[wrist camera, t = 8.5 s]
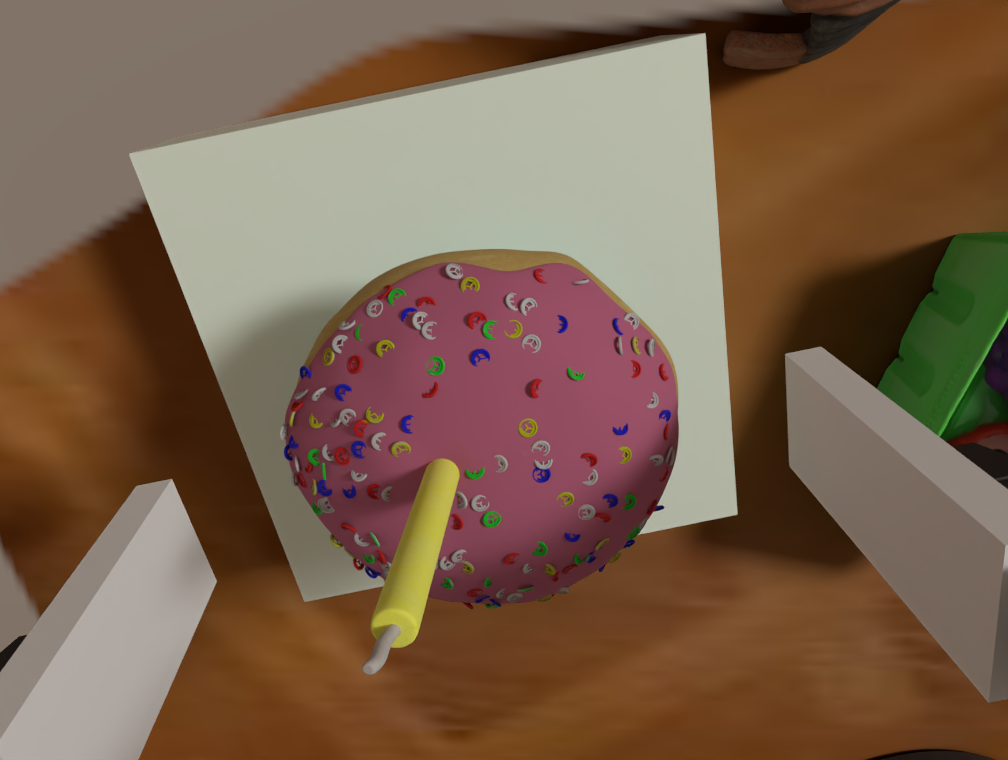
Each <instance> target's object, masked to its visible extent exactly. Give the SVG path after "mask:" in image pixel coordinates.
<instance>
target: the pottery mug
mask: <svg viewBox="0 0 1008 760" xmlns="http://www.w3.org/2000/svg"><path fill="white" fill-rule="evenodd" d="M782 1H783V4H784V5H785V6H786V7H787V8H788V9H789V10H790V11H792V12H796V13H812V15H811V22H810V23H811V27H810V28H809V29H808V30H806V31H805V32H804V33H784V34H778V33H761V32H751V31H743V30H733V31H731V32H730V33H729V34H728V35H727V37H726V40H725V44H724V48H723V50H724V54H723V57H722V60H723V62H724V63H725V64H727V65H729V66H731V67H739V68H744V69H755V70H760V69H777V68H783V67H789V66H793V65H797V64H804V63H807V62H810V61H813V60H815V59H818V58H820V57H822V56H824V55H826V54H828V53H830V52H832V51H834V50H836V49H838V48H839V47H841V46H842V45H844V44H845V43H847V42H848V41H849V40H851V39H852V38H853V37H855V36H856V35H857V34H858V33H859V32H861V31H862V30H863V29H864V28H865V27H866V26H868V25H869V24H870V23H872V22H873V21H874V20H875V19H876V18H877V17H879V16H880V15H881V14H882V13H884V12H885V11H886V10H887V9H888V8H890V7H891V6H893V5H894V4H896V3H897V2H899V1H900V0H782Z"/></svg>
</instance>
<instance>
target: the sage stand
mask: <svg viewBox="0 0 1008 760" xmlns="http://www.w3.org/2000/svg"><path fill="white" fill-rule="evenodd" d="M129 156H130V158H131V161H132V164H133V166H134V169H135V171H136V174H137V176H138V179H139V181H140V184H141V187H142V189H143V192H144V194H145V197H146V199H147V202H148V204H149V207H150V210H151V212H152V215H153V217H154V220H155V222H156V225H157V227H158V230H159V232H160V235H161V238H162V240H163V243H164V245H165V248H166V250H167V253H168V255H169V258H170V260H171V263H172V266H173V268H174V271H175V273H176V276H177V278H178V281H179V283H180V286H181V289H182V291H183V294H184V296H185V299H186V301H187V304H188V306H189V309H190V311H191V314H192V317H193V319H194V322H195V324H196V327H197V329H198V332H199V334H200V337H201V339H202V342H203V345H204V347H205V350H206V352H207V355H208V357H209V360H210V362H211V365H212V368H213V370H214V373H215V375H216V378H217V380H218V383H219V385H220V388H221V390H222V393H223V396H224V398H225V401H226V403H227V406H228V408H229V411H230V413H231V416H232V419H233V421H234V424H235V426H236V429H237V431H238V434H239V436H240V439H241V441H242V444H243V447H244V449H245V452H246V454H247V457H248V459H249V462H250V464H251V467H252V469H253V472H254V475H255V477H256V480H257V482H258V485H259V487H260V490H261V492H262V495H263V498H264V500H265V503H266V505H267V508H268V510H269V513H270V515H271V518H272V520H273V523H274V526H275V528H276V531H277V533H278V536H279V538H280V541H281V543H282V546H283V548H284V551H285V554H286V556H287V559H288V561H289V564H290V566H291V569H292V571H293V574H294V577H295V579H296V582H297V584H298V587H299V589H300V592H301V594H302V597H303V599H304V602H307V601H312V600H317V599H322V598H327V597H332V596H337V595H342V594H347V593H352V592H357V591H362V590H366V589H371V588H376V587H381V586H384V584H385V582H384V580H383V578H381V577H380V576H378V577H377V578H375V579H374V578H371V577H369V576H368V575H367V573H366V572H365V565H364V568H363V569H362V570H357V569H356V568H355V567H354V564H353V557H351V556H350V555H349V554H347V553H346V551H345V550H344V546H343V547H341V548H337V547H335V546H334V545H333V544H332V543H331V541H330V535H331V532H330V531H329V530H328V529H327V528H326V527H325V525H324V524H323V523H322V522H321V521H320V519H319V518H318V517H317V515H316V514H315V513H314V511H313V509H312V508H311V506H310V505H309V503H308V502H307V500H306V499H305V497H304V496H303V494H302V493H301V491H300V489H299V488H298V486H294V485H293V484H292V482H291V475H292V471H291V467H290V463H289V460H287V459H286V458H285V456H284V448H285V446H286V440H281V439H280V437H279V432H280V429H281V427H282V425H283V424H284V423H285V415H286V411H287V408H288V405H289V402H290V400H291V398H292V395H293V393H294V391H295V389H296V386H297V382H298V378H299V375H300V368H301V367H302V366H303V365H304V363H305V361H306V359H307V357H308V355H309V353H310V351H311V349H312V347H313V345H314V343H315V341H316V339H317V337H318V336H319V334H320V332H321V331H322V329H323V328H324V326H325V325H326V324H327V322H328V321H329V320H330V319H331V318H332V317H333V316H334V315H335V314H336V313H337V312H338V311H339V310H340V309H341V308H342V307H343V306H344V305H345V304H346V303H347V302H348V301H349V300H350V299H351V298H352V297H353V296H354V295H355V294H356V293H357V292H358V291H359V290H360V289H362V288H363V287H364V286H365V285H366V284H368V283H369V282H370V281H372V280H373V279H374V278H376V277H378V276H379V275H381V274H383V273H385V272H387V271H389V270H390V269H393V268H395V267H397V266H399V265H402V264H404V263H407V262H410V261H413V260H416V259H419V258H423V257H426V256H430V255H435V254H439V253H445V252H453V251H464V250H480V249H512V250H526V251H549V252H557V253H562V254H565V255H567V256H570V257H572V258H573V259H575V260H576V261H578V262H579V263H581V264H582V265H583V266H584V267H586V268H587V269H588V270H589V271H590V272H591V273H593V274H594V275H595V276H596V277H597V278H598V279H599V280H601V281H602V282H603V283H604V284H605V285H606V286H607V287H609V288H610V289H611V290H612V291H613V292H614V293H615V294H616V295H617V296H618V297H619V298H620V299H621V300H622V301H624V302H625V303H626V304H627V305H628V306H629V307H630V308H631V309H632V310H633V311H634V312H635V313H636V314H637V315H638V316H639V317H640V318H641V319H642V320H643V321H644V322H645V323H646V324H647V325H648V326H649V327H650V328H651V329H652V330H653V331H654V332H655V334H656V335H657V336H658V337H659V338H660V340H661V341H662V342H663V344H664V345H665V347H666V348H667V350H668V352H669V354H670V356H671V358H672V361H673V363H674V366H675V370H676V374H677V381H678V423H679V439H678V449H677V455H676V460H675V464H674V467H673V470H672V473H671V476H670V478H669V481H668V483H667V486H666V488H665V490H664V492H663V495H662V497H661V499H660V501H659V503H658V505H663V506H664V509H662V510H660V511H655V512H653V513H652V515H651V516H650V518H649V519H648V520H647V522H646V524H645V526H644V527H643V529H642V530H641V531H640V533H639V534H644V533H649V532H654V531H659V530H664V529H669V528H674V527H679V526H684V525H689V524H694V523H698V522H703V521H708V520H713V519H718V518H723V517H728V516H733V515H738V513H737V498H736V483H735V468H734V453H733V438H732V423H731V408H730V393H729V378H728V363H727V348H726V333H725V318H724V303H723V288H722V273H721V258H720V243H719V228H718V213H717V198H716V183H715V168H714V153H713V138H712V123H711V108H710V93H709V78H708V63H707V48H706V33H698V34H679V35H660V36H655V37H651V38H646V39H641V40H636V41H631V42H627V43H622V44H617V45H612V46H608V47H603V48H598V49H593V50H588V51H584V52H579V53H574V54H569V55H565V56H560V57H555V58H550V59H545V60H541V61H536V62H531V63H526V64H522V65H517V66H512V67H507V68H502V69H498V70H493V71H488V72H483V73H479V74H474V75H469V76H464V77H459V78H455V79H450V80H445V81H440V82H435V83H431V84H426V85H421V86H416V87H412V88H407V89H402V90H397V91H392V92H388V93H383V94H378V95H373V96H369V97H364V98H359V99H354V100H349V101H345V102H340V103H335V104H330V105H326V106H321V107H316V108H311V109H306V110H302V111H297V112H292V113H287V114H283V115H278V116H273V117H268V118H263V119H259V120H254V121H249V122H244V123H240V124H235V125H230V126H225V127H220V128H216V129H211V130H206V131H202V132H197V133H192V134H187V135H183V136H179V137H176V138H174V139H171V140H168V141H165V142H162V143H159V144H156V145H153V146H150V147H147V148H144V149H141V150H138V151H135V152H132V153H130V154H129ZM284 429H285V428H284ZM283 433H284V431H283ZM283 433H282V434H283ZM284 435H285V434H284ZM658 505H657V506H658ZM639 534H638V535H639ZM334 538H335V537H334ZM334 542H336V543H337V541H336V540H335V539H334ZM338 543H340V542H339V541H338ZM357 561H358V559H357ZM356 563H357V565H358V566H360V565H359V563H358V562H356ZM360 563H361V562H360ZM369 572H370V571H369ZM370 573H371V572H370ZM371 574H372V573H371Z"/></svg>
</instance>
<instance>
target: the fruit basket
mask: <svg viewBox="0 0 1008 760" xmlns="http://www.w3.org/2000/svg"><path fill="white" fill-rule="evenodd" d="M932 287H933V292H930V293H928V294H927V296H926V297H925V298H924V299H923V300H922V302H921V303H920V304H919V306H918V308H917V310H916V312H915V314H914V316H913V318H912V320H911V322H910V324H909V326H908V328H907V330H906V332H905V334H904V336H903V338H902V340H901V344H900V349H899V355H900V356H899V358H896V359H895V360H894V361H893V362H892V363H891V364H890V365H889V366H888V368H887V369H886V371H885V373H884V375H883V377H882V379H881V381H880V383H879V385H878V387H877V390H879V391H880V392H881V393H883V394H884V395H885V396H886V397H888V398H889V399H890V400H892V401H893V402H894V403H896V404H897V405H898V406H900V407H901V408H902V409H903V410H905V411H906V412H907V413H909V414H910V415H911V416H913V417H914V418H915V419H917V420H918V421H919V422H920V423H922V424H923V425H924V426H926V427H927V428H928V429H930V430H931V431H932V432H934V433H935V434H936V435H937V436H939V437H940V438H941V439H943V440H944V441H945V442H947V443H948V444H949V445H951V446H956V445H961V444H966V443H971V442H974V443H977V444H980V445H982V446H985V447H988V448H990V449H993V450H996V451H998V452H1001V453H1004V454H1006V455H1008V232H987V233H961V234H958V235H956V236H955V237H954V238H953V239H952V241H951V242H950V244H949V246H948V248H947V250H946V252H945V255H944V257H943V259H942V261H941V263H940V265H939V267H938V268H937V270H936V272H935V276H934V281H933V285H932Z"/></svg>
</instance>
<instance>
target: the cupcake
mask: <svg viewBox="0 0 1008 760" xmlns="http://www.w3.org/2000/svg"><path fill="white" fill-rule="evenodd" d="M284 428H285V429H284ZM283 431H284V433H283ZM282 433H283V434H282ZM284 434H285V435H284ZM279 437H280V439H281V440H286V446H285V448H284V456H285V458H286V459H287V460H289V463H290V467H291V471H292V475H291V482H292V484H293V485H294V486H298V488H299V489H300V491H301V493H302V494H303V496H304V497H305V499H306V500H307V502H308V503H309V505H310V506H311V508H312V509H313V511H314V513H315V514H316V515H317V517H318V518H319V519H320V521H321V522H322V523H323V524H324V525H325V527H326V528H327V529H328V530H329V531H330V532H331V535H330V541H331V543H332V544H333V545H334V546H335V547H337V548H341V547H343V546H344V550H345V551H346V553H347V554H349V555H350V556H351V557H353V564H354V567H355V568H356V569H357V570H362V569H363V568H364V565H365V572H366V573H367V575H368V576H369V577H371V578H374V579H375V578H377V577H378V576H380V577H381V578H383V580H384V582H385V584H384V586H383V589H382V592H381V595H380V597H379V600H378V603H377V606H376V608H375V611H374V614H373V617H372V620H371V631H372V633H373V635H374V637H375V638H376V639H377V641H376V643H375V646H374V649H373V652H372V655H371V657H370V658H369V659H368V660H367V661H366V662H365V663H364V664H363V667H362V669H363V671H364V673H366V674H368V675H371V674H374V673H376V672H377V671H378V670H380V669H381V667H382V666H383V665H384V663H385V661H386V659H387V656H388V653H389V650H390V647H393V648H400V647H405V646H407V645H409V644H410V643H412V642H413V641H414V640H415V638H416V636H417V634H418V631H419V628H420V624H421V620H422V617H423V613H424V609H425V605H426V601H427V598H428V597H431V598H435V599H440V600H445V601H450V602H462V603H464V604H465V605H466V606H467V607H469V608H470V609H473V606H472V605H471V604H470V603H481V604H486V607H487V608H497V607H501V604H506V603H521V602H530V601H535V600H537V601H540V602H543V601H547V600H549V599H551V597H552V596H553V595H555V593H561V594H564V593H568V592H569V588H567V587H569V586H571V585H573V584H574V583H576V582H578V581H580V580H582V579H583V578H585V577H587V576H588V575H590V574H592V573H593V572H595V571H596V570H598V569H599V572H602V570H603V569H604V566H605V564H607V563H608V562H610V563H613V562H615V561H616V560H617V559H618V558H619V557H620V555H621V550H622V549H623V548H626V549H628V548H629V547H630V546H631V545H633V544H634V543H635V541H634V540H632V539H633V538H634V537H635V536H636V535H638V534H639V533H640V531H641V530H642V529H643V527H644V526H645V524H646V522H647V520H648V519H649V518H650V516H651V515H652V513H653V512H655V511H660V510H662V509H664V506H663V505H658V503H659V501H660V499H661V497H662V495H663V492H664V490H665V488H666V486H667V483H668V481H669V478H670V476H671V473H672V470H673V467H674V464H675V460H676V455H677V449H678V439H679V423H678V381H677V374H676V370H675V366H674V363H673V361H672V358H671V356H670V354H669V352H668V350H667V348H666V347H665V345H664V344H663V342H662V341H661V340H660V338H659V337H658V336H657V335H656V334H655V332H654V331H653V330H652V329H651V328H650V327H649V326H648V325H647V324H646V323H645V322H644V321H643V320H642V319H641V318H640V317H639V316H638V315H637V314H636V313H635V312H634V311H633V310H632V309H631V308H630V307H629V306H628V305H627V304H626V303H625V302H624V301H622V300H621V299H620V298H619V297H618V296H617V295H616V294H615V293H614V292H613V291H612V290H611V289H610V288H609V287H607V286H606V285H605V284H604V283H603V282H602V281H601V280H599V279H598V278H597V277H596V276H595V275H594V274H593V273H591V272H590V271H589V270H588V269H587V268H586V267H584V266H583V265H582V264H581V263H579V262H578V261H576V260H575V259H573V258H572V257H570V256H567V255H565V254H562V253H557V252H549V251H526V250H512V249H480V250H464V251H453V252H445V253H439V254H435V255H430V256H426V257H423V258H419V259H416V260H413V261H410V262H407V263H404V264H402V265H399V266H397V267H395V268H393V269H390V270H389V271H387V272H385V273H383V274H381V275H379V276H378V277H376V278H374V279H373V280H372V281H370V282H369V283H368V284H366V285H365V286H364V287H363V288H362V289H360V290H359V291H358V292H357V293H356V294H355V295H354V296H353V297H352V298H351V299H350V300H349V301H348V302H347V303H346V304H345V305H344V306H343V307H342V308H341V309H340V310H339V311H338V312H337V313H336V314H335V315H334V316H333V317H332V318H331V319H330V320H329V321H328V322H327V324H326V325H325V326H324V328H323V329H322V331H321V332H320V334H319V336H318V337H317V339H316V341H315V343H314V345H313V347H312V349H311V351H310V353H309V355H308V357H307V359H306V361H305V363H304V365H303V366H302V367H301V368H300V375H299V378H298V382H297V386H296V389H295V391H294V393H293V395H292V398H291V400H290V402H289V405H288V408H287V411H286V415H285V423H284V424H283V425H282V427H281V429H280V432H279ZM657 505H658V506H657ZM334 537H335V538H334ZM334 539H335V540H336V541H337V543H336V542H334ZM338 541H339V542H340V543H338ZM617 554H618V555H617ZM616 555H617V556H616ZM357 559H358V561H357ZM356 562H358V563H359V565H360V566H358V565H357V563H356ZM360 562H361V563H360ZM369 571H370V572H371V573H372V574H371V573H370V572H369ZM562 590H566V591H562ZM490 604H492V605H493V606H491V605H490Z"/></svg>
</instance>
